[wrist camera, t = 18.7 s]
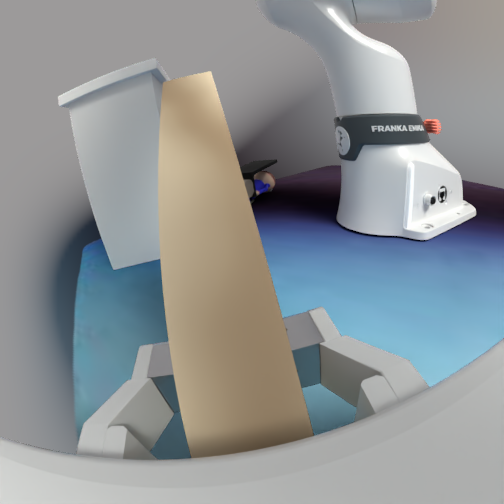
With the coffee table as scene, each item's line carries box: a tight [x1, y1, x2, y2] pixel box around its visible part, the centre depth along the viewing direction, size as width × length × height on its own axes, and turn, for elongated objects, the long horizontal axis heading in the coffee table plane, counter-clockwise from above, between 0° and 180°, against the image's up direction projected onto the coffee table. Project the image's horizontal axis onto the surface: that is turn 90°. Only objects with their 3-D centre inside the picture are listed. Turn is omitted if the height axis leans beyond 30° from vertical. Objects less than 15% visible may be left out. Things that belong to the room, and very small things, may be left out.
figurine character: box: [240, 160, 277, 204], centre depth 57 cm, size 7×8×15 cm
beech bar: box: [158, 71, 314, 458], centre depth 9 cm, size 3×26×3 cm
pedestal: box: [58, 58, 170, 270], centre depth 40 cm, size 14×20×26 cm
